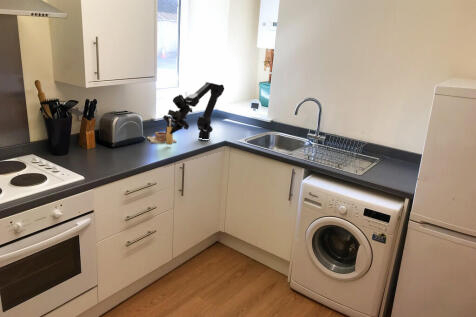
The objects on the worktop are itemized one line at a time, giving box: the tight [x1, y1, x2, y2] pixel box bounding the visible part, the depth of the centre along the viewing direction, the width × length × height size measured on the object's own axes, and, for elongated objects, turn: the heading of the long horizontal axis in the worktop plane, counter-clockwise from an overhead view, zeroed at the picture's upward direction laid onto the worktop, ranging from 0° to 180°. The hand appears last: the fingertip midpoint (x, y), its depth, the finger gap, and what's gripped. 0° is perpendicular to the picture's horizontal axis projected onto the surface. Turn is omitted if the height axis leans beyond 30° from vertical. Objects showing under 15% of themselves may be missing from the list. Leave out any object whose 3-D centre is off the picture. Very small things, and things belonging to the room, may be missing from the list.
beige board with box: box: [147, 131, 177, 144], centre depth 258 cm, size 16×12×4 cm
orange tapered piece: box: [165, 120, 174, 146], centre depth 244 cm, size 4×4×15 cm
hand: (168, 132), depth 244 cm, fingers closed on orange tapered piece, 4 cm apart
